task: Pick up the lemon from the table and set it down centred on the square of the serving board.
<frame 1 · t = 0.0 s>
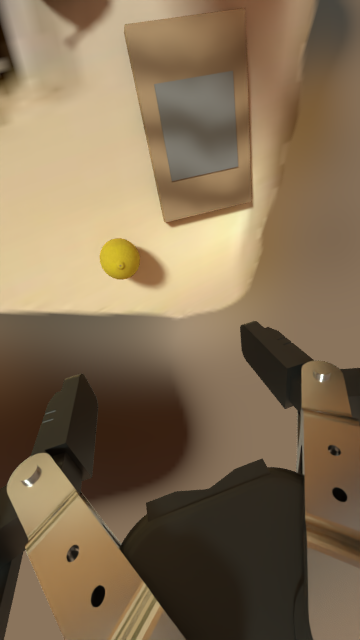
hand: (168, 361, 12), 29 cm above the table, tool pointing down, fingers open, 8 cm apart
serving board: (196, 132, 32), on the table
lemon: (119, 253, 37), on the table
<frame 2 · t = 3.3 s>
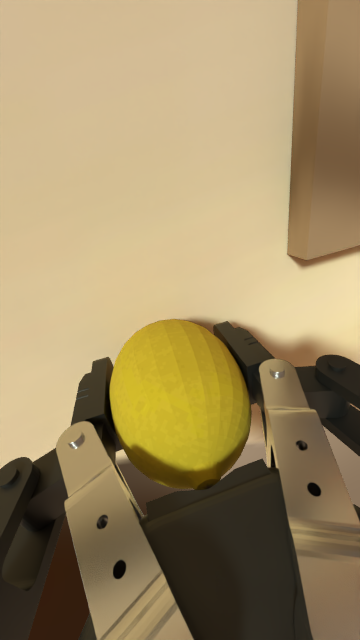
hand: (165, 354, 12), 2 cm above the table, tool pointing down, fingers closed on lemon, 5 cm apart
lemon: (160, 337, 14), on the table, touching gripper
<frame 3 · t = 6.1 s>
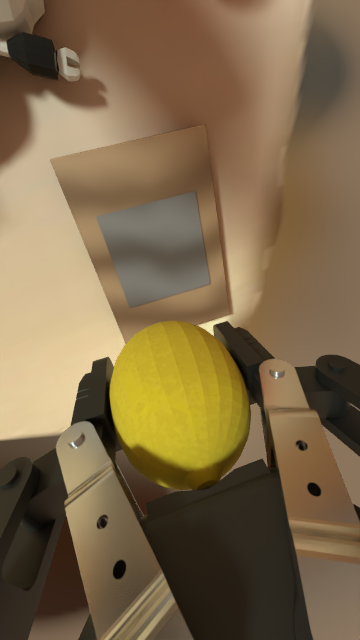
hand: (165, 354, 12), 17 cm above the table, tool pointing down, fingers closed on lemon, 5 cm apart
serving board: (157, 251, 26), on the table
lemon: (160, 338, 14), point 15 cm above the table, touching gripper
when the fingers open (4 cm above the table, at t = 9.3 s): lemon stays where it is, resting on serving board.
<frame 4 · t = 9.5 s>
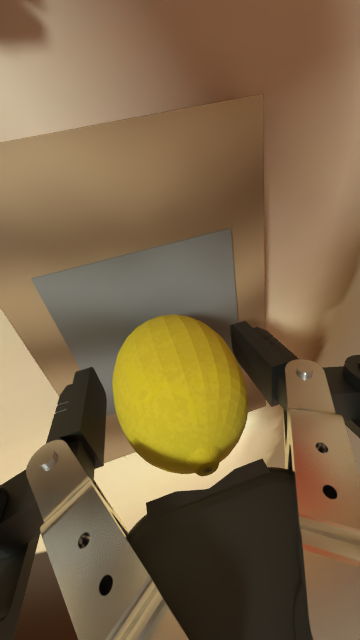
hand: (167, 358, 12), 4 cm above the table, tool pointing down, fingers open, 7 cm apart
serving board: (155, 322, 15), on the table
lemon: (160, 333, 14), point 2 cm above the table, touching serving board
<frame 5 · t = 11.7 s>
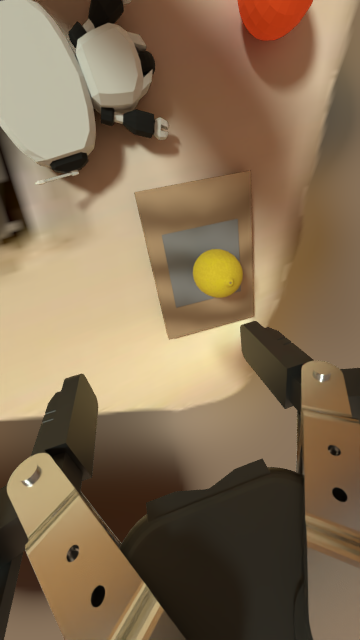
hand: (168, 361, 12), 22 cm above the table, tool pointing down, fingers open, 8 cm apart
serving board: (201, 263, 33), on the table
clementine: (257, 0, 22), on the table
robot toy: (80, 97, 23), on the table
lemon: (205, 265, 31), point 2 cm above the table, touching serving board
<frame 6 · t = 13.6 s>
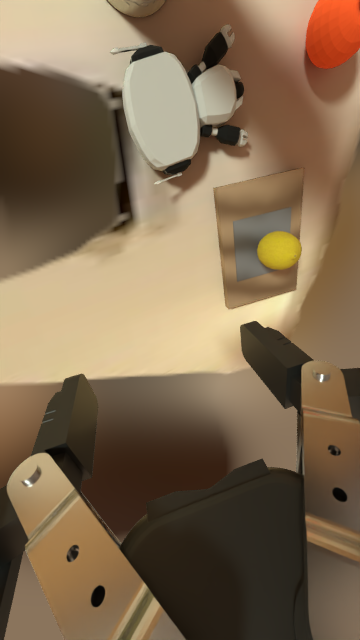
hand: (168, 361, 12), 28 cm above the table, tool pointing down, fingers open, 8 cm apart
serving board: (257, 244, 40), on the table
clementine: (317, 36, 29), on the table
robot toy: (182, 115, 30), on the table
lemon: (262, 245, 39), point 2 cm above the table, touching serving board
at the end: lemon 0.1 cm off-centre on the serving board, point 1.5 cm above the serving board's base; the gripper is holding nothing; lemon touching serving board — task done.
